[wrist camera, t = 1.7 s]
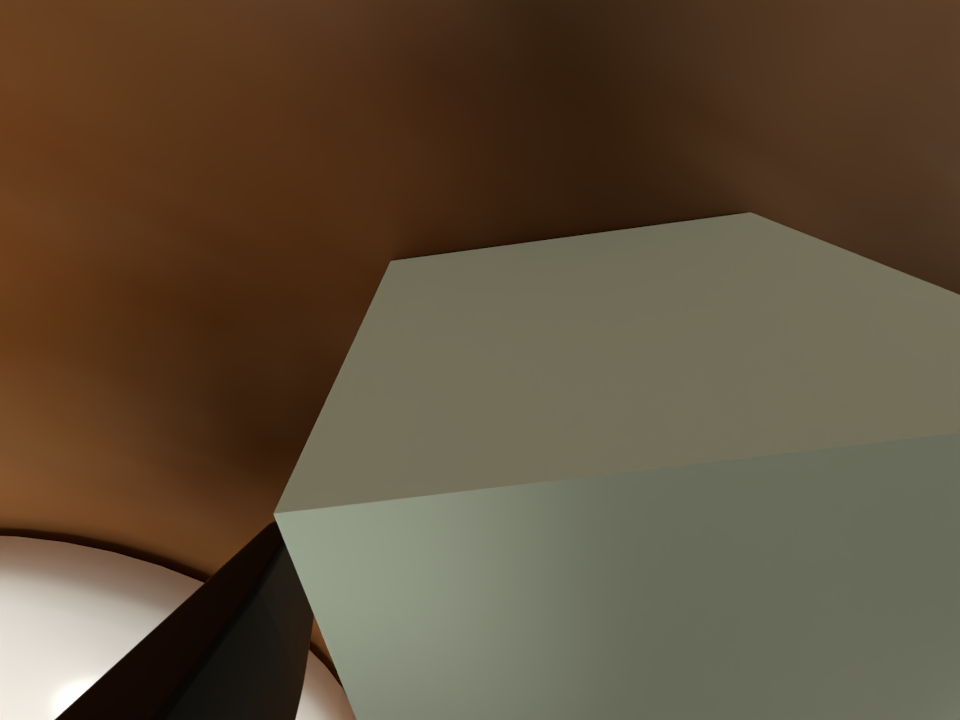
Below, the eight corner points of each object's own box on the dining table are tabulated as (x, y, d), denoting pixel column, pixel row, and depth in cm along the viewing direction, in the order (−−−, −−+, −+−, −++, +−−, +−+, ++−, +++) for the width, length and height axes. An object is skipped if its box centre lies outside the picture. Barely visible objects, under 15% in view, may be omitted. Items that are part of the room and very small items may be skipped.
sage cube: (722, 494, 11) (956, 854, 6) (446, 526, 11) (430, 901, 6) (750, 212, 9) (1228, 402, 3) (390, 260, 9) (274, 513, 3)
